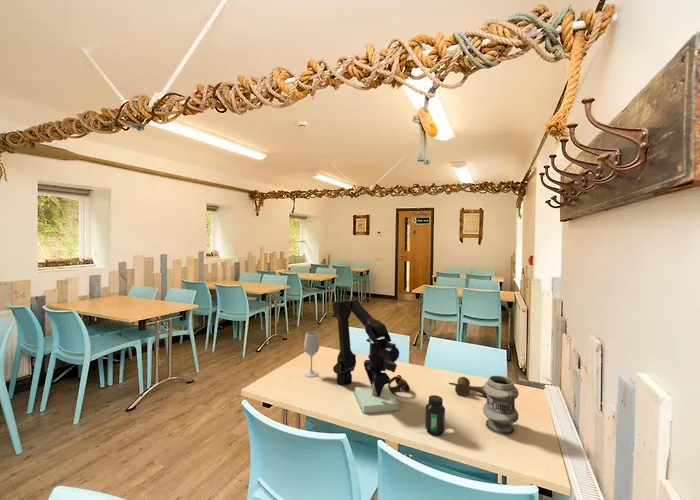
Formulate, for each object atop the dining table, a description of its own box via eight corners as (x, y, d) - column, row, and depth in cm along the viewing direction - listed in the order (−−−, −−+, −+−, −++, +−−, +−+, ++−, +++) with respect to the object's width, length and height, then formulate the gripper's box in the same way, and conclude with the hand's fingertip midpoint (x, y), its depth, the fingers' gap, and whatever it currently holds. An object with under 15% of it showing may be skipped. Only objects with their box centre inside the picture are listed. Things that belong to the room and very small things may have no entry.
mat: (362, 416, 128) (362, 413, 128) (353, 395, 145) (353, 393, 145) (399, 413, 131) (399, 410, 131) (386, 393, 148) (386, 390, 148)
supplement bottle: (436, 438, 115) (437, 404, 114) (421, 429, 120) (422, 396, 120) (448, 432, 119) (449, 399, 118) (433, 423, 124) (434, 392, 124)
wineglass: (321, 373, 168) (322, 332, 167) (312, 378, 161) (312, 336, 161) (310, 370, 172) (310, 330, 171) (300, 375, 165) (301, 333, 165)
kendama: (495, 404, 141) (446, 393, 149) (495, 395, 150) (449, 385, 157) (496, 390, 141) (447, 380, 148) (495, 382, 149) (450, 373, 157)
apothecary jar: (482, 415, 131) (484, 370, 130) (516, 422, 126) (518, 376, 125) (482, 432, 119) (483, 383, 119) (519, 440, 115) (521, 389, 114)
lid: (363, 413, 129) (364, 393, 128) (354, 393, 145) (355, 376, 144) (398, 410, 131) (398, 390, 131) (385, 391, 147) (386, 374, 147)
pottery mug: (413, 399, 144) (405, 384, 142) (393, 406, 145) (385, 392, 144) (410, 380, 155) (402, 367, 153) (391, 387, 157) (384, 374, 155)
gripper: (402, 361, 130) (401, 400, 130) (388, 346, 148) (387, 380, 149) (375, 363, 128) (374, 402, 128) (363, 347, 146) (363, 381, 146)
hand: (375, 391), depth 138 cm, fingers open, 9 cm apart
